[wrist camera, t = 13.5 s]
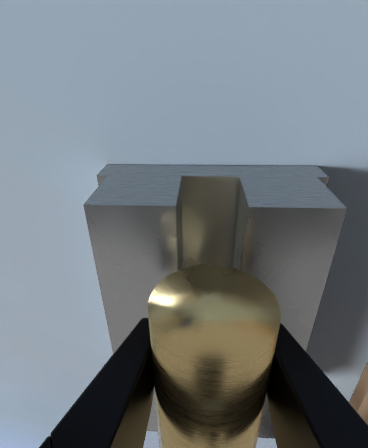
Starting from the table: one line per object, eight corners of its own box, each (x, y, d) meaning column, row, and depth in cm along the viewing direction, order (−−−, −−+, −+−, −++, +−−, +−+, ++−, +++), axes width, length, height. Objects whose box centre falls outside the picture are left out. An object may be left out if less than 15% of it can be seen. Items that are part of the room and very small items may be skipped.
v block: (273, 368, 17) (289, 439, 14) (135, 362, 17) (120, 429, 14) (317, 165, 11) (362, 208, 8) (106, 164, 11) (69, 204, 8)
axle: (239, 459, 12) (245, 562, 10) (170, 451, 13) (158, 550, 10) (269, 267, 8) (295, 365, 5) (160, 262, 8) (132, 352, 6)
